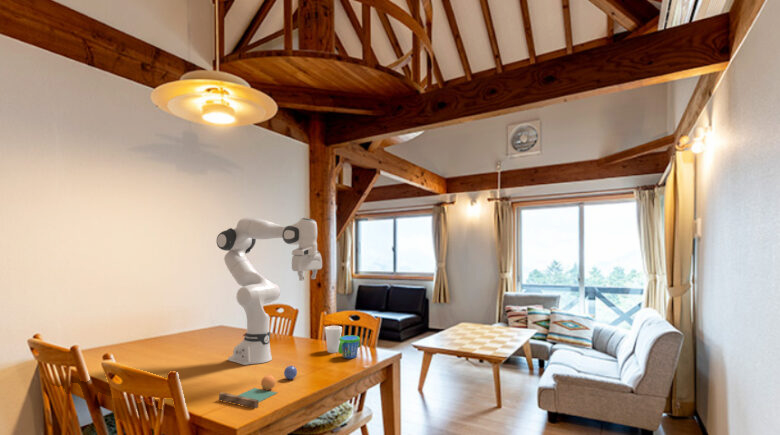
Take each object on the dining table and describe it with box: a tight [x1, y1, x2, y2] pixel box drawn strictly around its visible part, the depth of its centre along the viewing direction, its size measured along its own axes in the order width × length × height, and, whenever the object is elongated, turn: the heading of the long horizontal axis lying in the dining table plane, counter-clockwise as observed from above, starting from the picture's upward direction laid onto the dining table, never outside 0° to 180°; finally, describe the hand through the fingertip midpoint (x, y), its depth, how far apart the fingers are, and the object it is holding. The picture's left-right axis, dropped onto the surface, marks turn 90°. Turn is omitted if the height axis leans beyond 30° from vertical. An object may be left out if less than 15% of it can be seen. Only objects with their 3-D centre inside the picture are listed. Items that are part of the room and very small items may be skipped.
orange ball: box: [260, 374, 276, 391], centre depth 160 cm, size 6×6×6 cm
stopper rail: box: [218, 392, 259, 409], centre depth 145 cm, size 18×2×2 cm, turn 65°
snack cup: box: [337, 334, 361, 359], centre depth 207 cm, size 16×11×10 cm
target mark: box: [237, 387, 278, 403], centre depth 153 cm, size 12×12×1 cm
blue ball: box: [283, 365, 298, 380], centre depth 172 cm, size 6×6×6 cm
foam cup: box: [324, 325, 343, 354], centre depth 219 cm, size 10×9×13 cm
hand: (307, 279), depth 190 cm, fingers open, 8 cm apart
